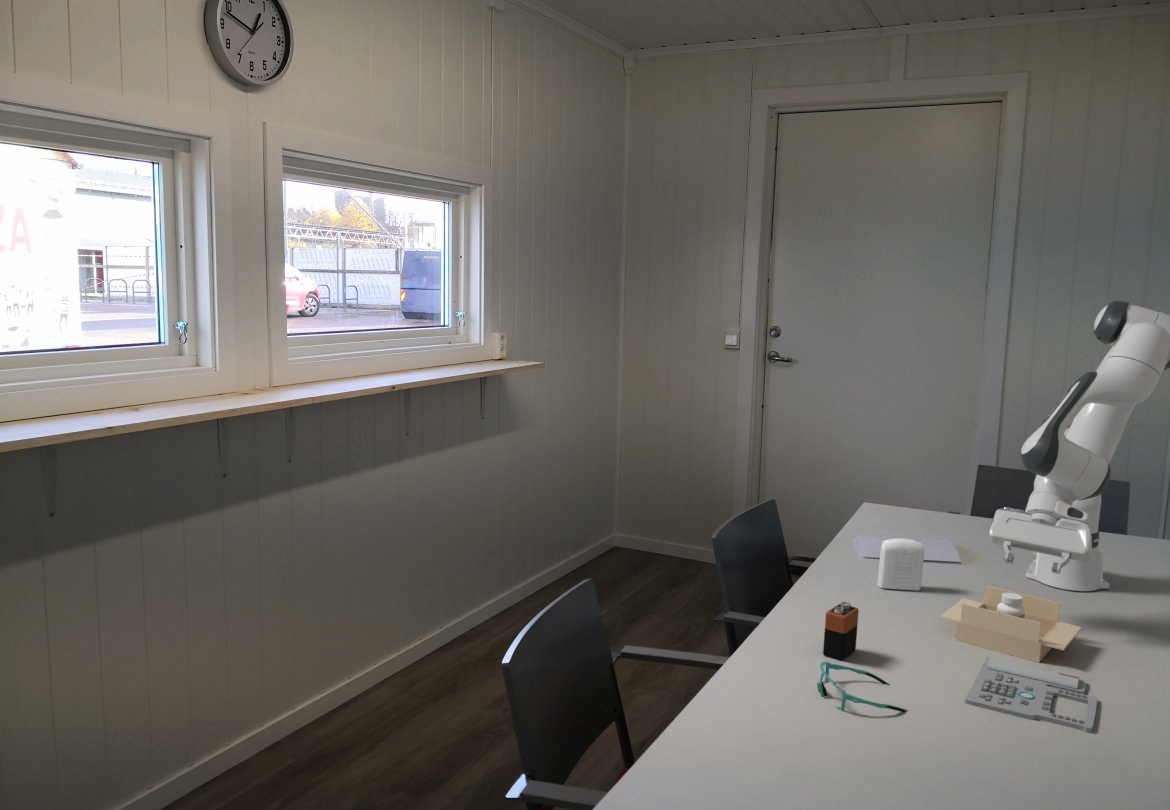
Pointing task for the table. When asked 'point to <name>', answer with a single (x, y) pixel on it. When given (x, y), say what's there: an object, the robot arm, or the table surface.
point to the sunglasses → (844, 694)
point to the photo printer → (901, 564)
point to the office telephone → (1029, 692)
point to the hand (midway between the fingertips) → (1031, 566)
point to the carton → (1011, 625)
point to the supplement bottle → (1011, 605)
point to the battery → (840, 631)
